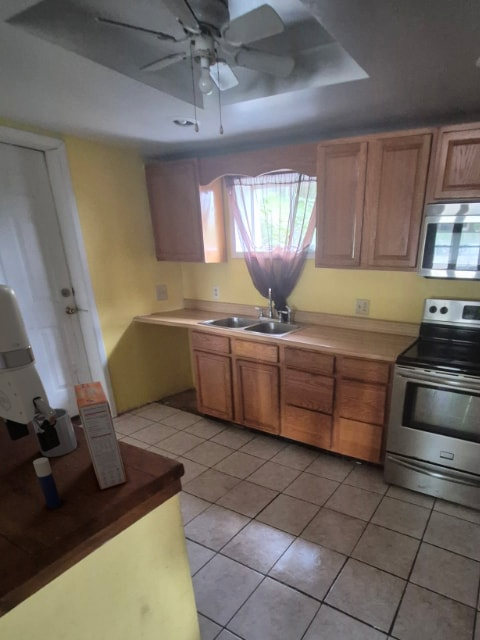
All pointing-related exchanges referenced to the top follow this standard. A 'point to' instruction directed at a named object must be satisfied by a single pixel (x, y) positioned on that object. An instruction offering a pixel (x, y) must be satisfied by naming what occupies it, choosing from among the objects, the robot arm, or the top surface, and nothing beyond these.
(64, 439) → the pen pot
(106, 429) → the cracker box
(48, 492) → the marker
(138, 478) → the top surface
